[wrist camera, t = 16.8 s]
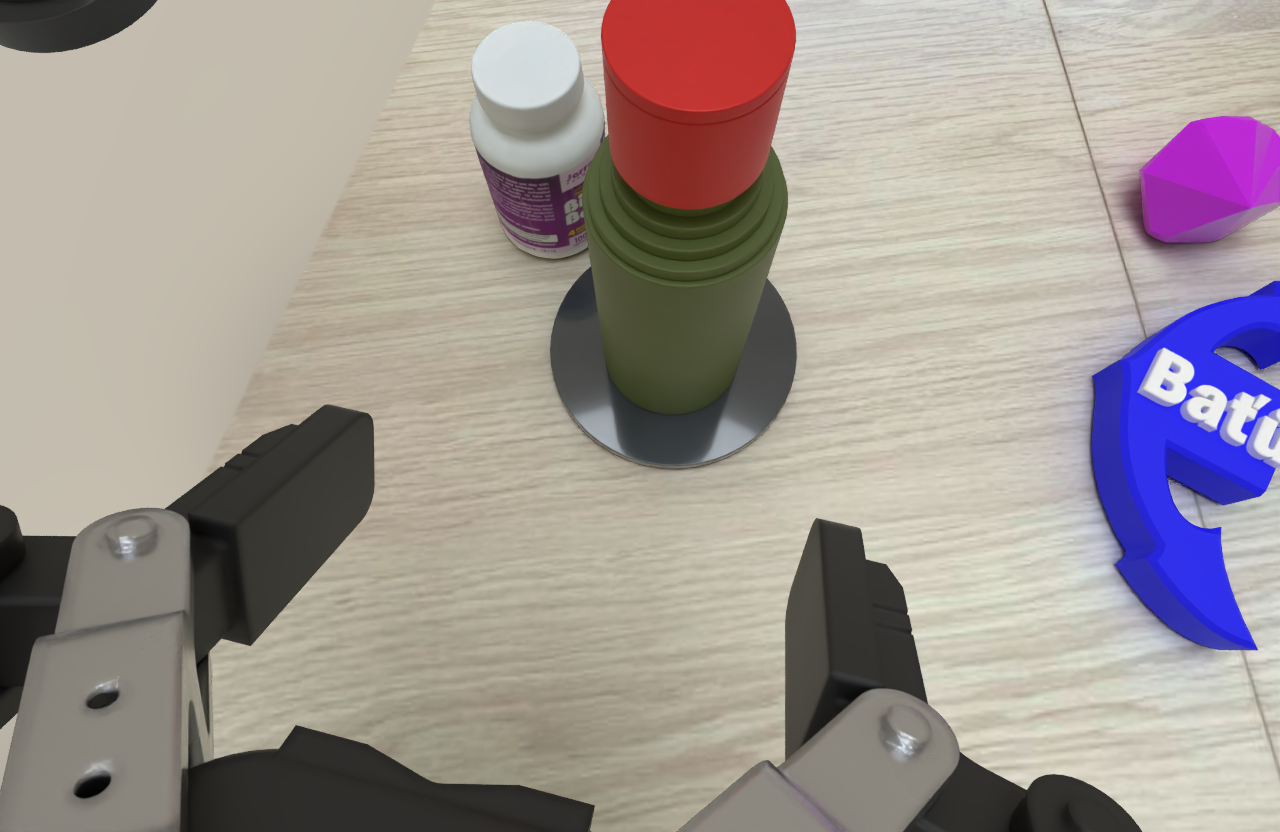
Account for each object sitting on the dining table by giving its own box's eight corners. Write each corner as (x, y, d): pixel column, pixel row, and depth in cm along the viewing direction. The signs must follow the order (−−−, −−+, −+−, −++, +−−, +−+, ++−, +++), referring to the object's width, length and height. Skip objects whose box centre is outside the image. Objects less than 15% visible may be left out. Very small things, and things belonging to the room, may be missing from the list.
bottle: (589, 398, 32) (527, 134, 16) (622, 278, 34) (599, -77, 17) (724, 429, 32) (809, 190, 15) (751, 305, 34) (853, -32, 17)
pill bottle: (597, 272, 35) (578, 138, 26) (488, 251, 35) (431, 111, 26) (622, 176, 36) (614, 16, 27) (518, 156, 37) (475, -7, 28)
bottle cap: (589, 191, 19) (575, 90, 15) (628, 61, 20) (624, -60, 17) (753, 225, 18) (777, 129, 15) (783, 91, 20) (811, -26, 16)
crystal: (1257, 227, 35) (1344, 167, 31) (1163, 272, 35) (1238, 217, 30) (1188, 144, 37) (1262, 76, 32) (1097, 185, 36) (1160, 121, 32)
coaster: (522, 437, 32) (520, 433, 32) (586, 223, 36) (585, 216, 35) (769, 495, 32) (772, 492, 31) (813, 270, 35) (815, 263, 34)
